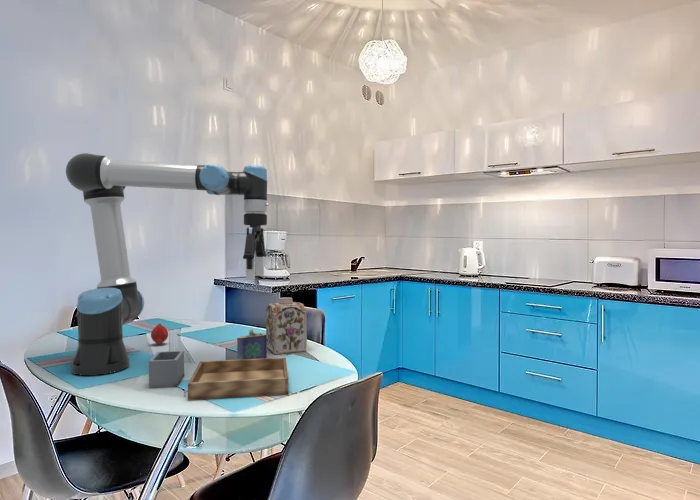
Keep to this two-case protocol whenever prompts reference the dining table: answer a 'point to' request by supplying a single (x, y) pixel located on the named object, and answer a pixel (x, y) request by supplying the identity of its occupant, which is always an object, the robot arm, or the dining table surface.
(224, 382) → the tray
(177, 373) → the small crate
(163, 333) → the onion
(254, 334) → the flask
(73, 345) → the dining table surface
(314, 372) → the dining table surface
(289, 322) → the decorative jar
